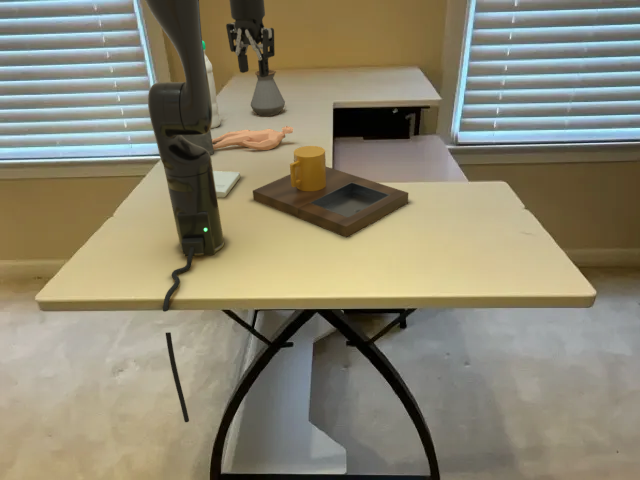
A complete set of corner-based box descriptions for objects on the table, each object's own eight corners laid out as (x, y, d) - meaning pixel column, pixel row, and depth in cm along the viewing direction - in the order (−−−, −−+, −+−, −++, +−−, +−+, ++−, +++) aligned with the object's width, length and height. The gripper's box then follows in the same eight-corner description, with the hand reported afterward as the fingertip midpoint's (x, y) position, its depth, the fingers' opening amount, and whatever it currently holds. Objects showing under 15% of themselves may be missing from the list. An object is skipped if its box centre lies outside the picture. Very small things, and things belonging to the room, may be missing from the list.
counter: (253, 200, 145) (252, 190, 144) (315, 172, 158) (315, 163, 156) (346, 237, 128) (346, 226, 127) (408, 202, 141) (408, 192, 139)
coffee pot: (287, 116, 197) (283, 67, 188) (252, 119, 196) (247, 70, 187) (281, 98, 214) (278, 53, 205) (249, 100, 213) (244, 55, 204)
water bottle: (194, 126, 192) (180, 41, 177) (212, 120, 196) (199, 37, 181) (206, 131, 188) (193, 44, 173) (225, 125, 192) (213, 40, 177)
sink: (309, 212, 138) (308, 202, 137) (351, 191, 147) (351, 181, 146) (348, 227, 132) (348, 217, 130) (390, 204, 140) (390, 194, 139)
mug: (310, 176, 149) (308, 143, 144) (332, 184, 145) (331, 150, 140) (282, 189, 144) (279, 155, 138) (304, 197, 139) (302, 162, 134)
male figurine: (210, 129, 178) (293, 119, 177) (214, 145, 181) (296, 135, 180) (205, 142, 170) (292, 131, 168) (209, 159, 173) (294, 148, 171)
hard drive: (240, 177, 157) (225, 197, 147) (211, 176, 158) (194, 196, 148) (240, 171, 156) (224, 191, 146) (210, 170, 157) (193, 189, 147)
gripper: (212, -6, 133) (222, 73, 143) (255, -2, 125) (263, 82, 135) (237, -11, 137) (246, 66, 147) (281, -7, 129) (286, 75, 139)
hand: (254, 74), depth 141 cm, fingers open, 6 cm apart
